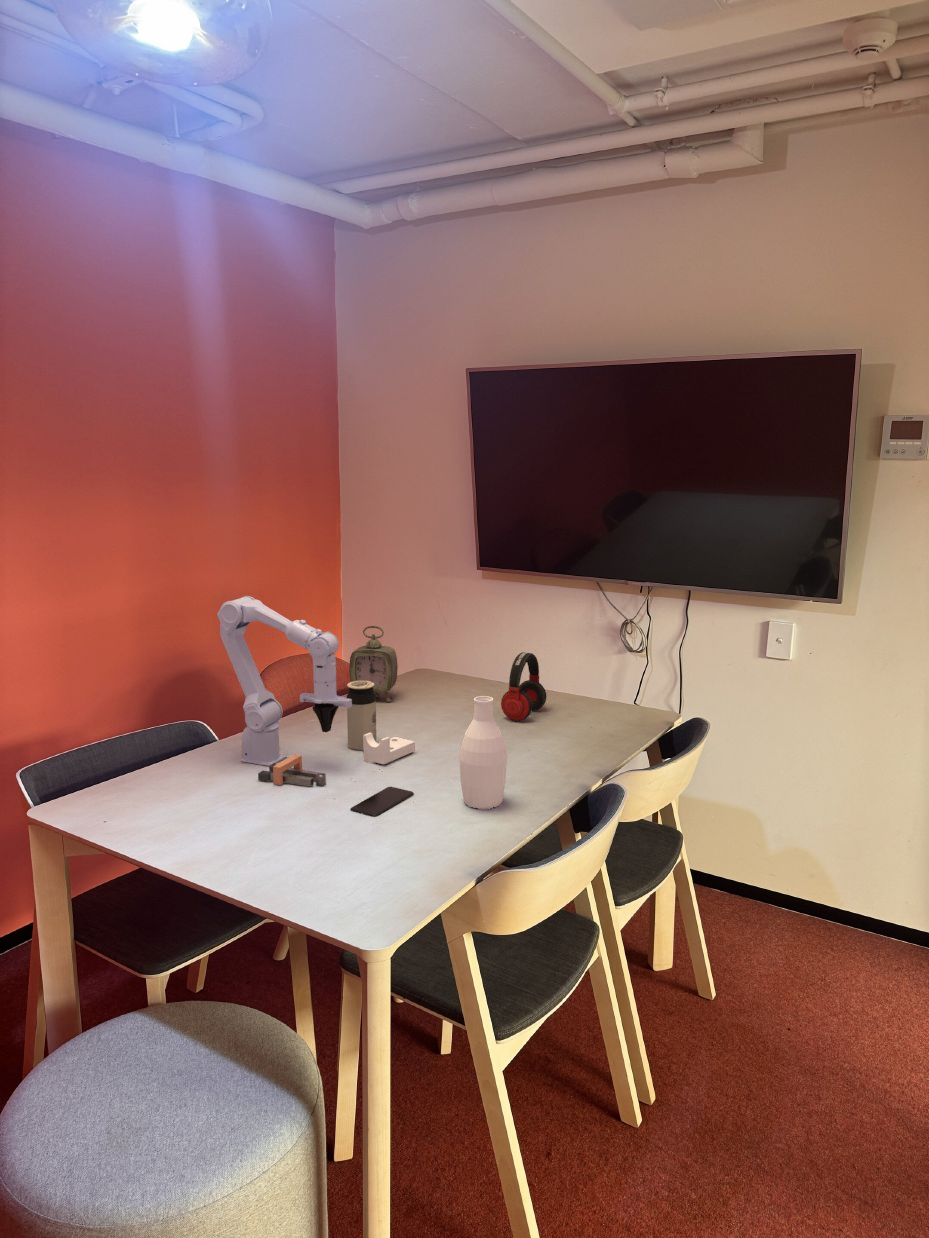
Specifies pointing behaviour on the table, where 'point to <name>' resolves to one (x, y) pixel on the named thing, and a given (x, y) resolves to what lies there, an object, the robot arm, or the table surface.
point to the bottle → (483, 758)
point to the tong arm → (287, 778)
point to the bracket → (385, 749)
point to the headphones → (523, 689)
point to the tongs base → (305, 774)
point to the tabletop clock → (374, 665)
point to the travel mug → (361, 713)
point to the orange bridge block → (286, 767)
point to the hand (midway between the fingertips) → (326, 730)
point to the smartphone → (382, 801)
